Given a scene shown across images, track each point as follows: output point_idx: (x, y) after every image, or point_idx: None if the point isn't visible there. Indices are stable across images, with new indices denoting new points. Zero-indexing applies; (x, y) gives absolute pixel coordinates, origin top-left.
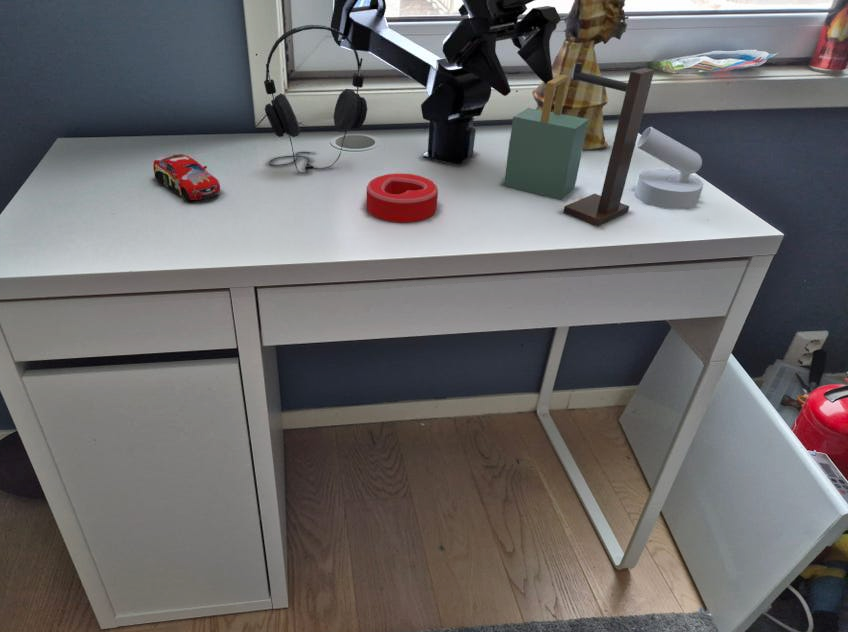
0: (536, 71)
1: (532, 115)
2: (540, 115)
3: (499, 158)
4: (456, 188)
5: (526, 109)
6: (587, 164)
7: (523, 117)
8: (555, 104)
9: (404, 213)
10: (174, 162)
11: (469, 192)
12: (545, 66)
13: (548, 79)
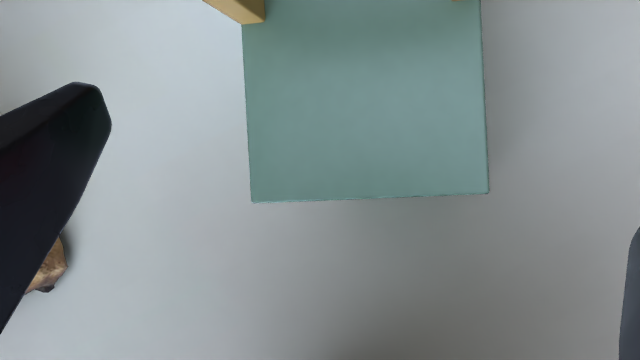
0: (32, 257)
1: (386, 104)
2: (350, 65)
3: (224, 325)
4: None
5: (291, 195)
6: (74, 29)
7: (466, 128)
8: (245, 3)
9: None
10: None
11: None
12: (10, 172)
13: (90, 117)
